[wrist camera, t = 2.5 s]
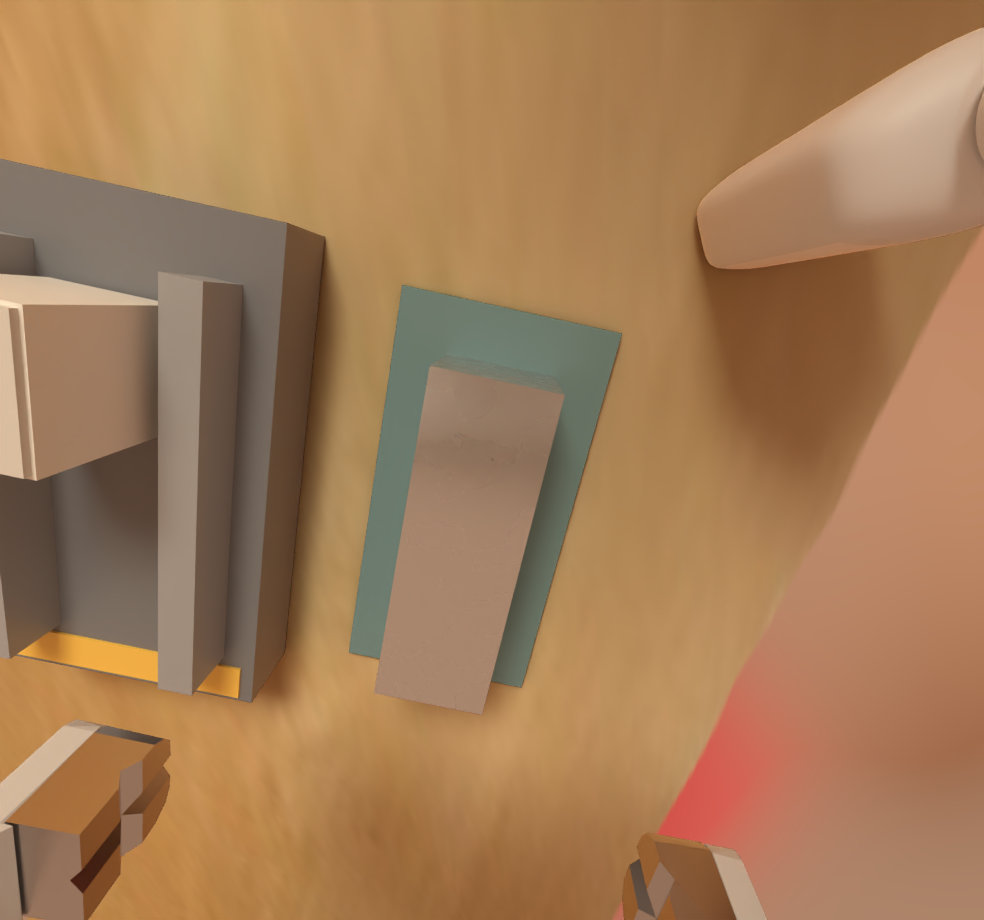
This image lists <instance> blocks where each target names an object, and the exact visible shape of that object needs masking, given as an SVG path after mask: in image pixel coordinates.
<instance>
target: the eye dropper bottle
mask: <svg viewBox="0 0 984 920" xmlns="http://www.w3.org/2000/svg"><path fill="white" fill-rule="evenodd" d="M697 222H698V227H699V232H700V236H701V241H702V245H703V250H704V253H705V257H706V259H707V261H708V262H709V264H710V265H712V266H714V267H716V268H722V269H753V268H761V267H767V266H774V265H780V264H786V263H792V262H798V261H804V260H810V259H816V258H822V257H828V256H834V255H840V254H846V253H852V252H859V251H865V250H871V249H877V248H883V247H888V246H894V245H900V244H906V243H911V242H917V241H922V240H927V239H932V238H937V237H942V236H947V235H950V234H954V233H958V232H962V231H966V230H969V229H972V228H975V227H979V226H982V225H984V27H982V28H980V29H977V30H975V31H972V32H970V33H968V34H965V35H963V36H961V37H959V38H956V39H954V40H952V41H950V42H948V43H946V44H944V45H942V46H940V47H938V48H936V49H934V50H932V51H930V52H929V53H927V54H925V55H923V56H922V57H920V58H918V59H916V60H915V61H913V62H911V63H910V64H908V65H906V66H904V67H903V68H901V69H899V70H897V71H896V72H894V73H893V74H891V75H889V76H888V77H886V78H884V79H883V80H881V81H879V82H878V83H876V84H874V85H873V86H871V87H870V88H868V89H866V90H865V91H863V92H861V93H860V94H858V95H857V96H855V97H853V98H852V99H850V100H848V101H847V102H845V103H844V104H842V105H840V106H839V107H837V108H835V109H834V110H832V111H831V112H829V113H827V114H826V115H824V116H823V117H821V118H819V119H818V120H816V121H814V122H813V123H811V124H810V125H808V126H806V127H805V128H803V129H801V130H800V131H798V132H797V133H795V134H793V135H792V136H790V137H789V138H787V139H785V140H784V141H782V142H781V143H779V144H777V145H776V146H774V147H772V148H771V149H769V150H768V151H766V152H764V153H763V154H761V155H760V156H758V157H756V158H755V159H753V160H751V161H750V162H748V163H747V164H745V165H744V166H742V167H740V168H739V169H737V170H736V171H735V172H733V173H732V174H730V175H729V176H728V177H726V178H725V179H724V180H723V181H721V182H720V183H719V184H718V185H717V186H715V187H714V188H713V189H712V190H711V191H710V192H709V193H708V194H707V195H706V196H705V197H704V198H703V199H702V201H701V202H700V204H699V206H698V208H697Z"/></svg>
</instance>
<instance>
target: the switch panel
mask: <svg viewBox="0 0 984 920" xmlns="http://www.w3.org/2000/svg"><path fill="white" fill-rule="evenodd" d="M324 241H325V237H323V236H321V235H318V234H315V233H313V232H310V231H307V230H305V229H302V228H299V227H297V226H294V225H291V224H289V223H286V222H281V221H277V220H272V219H268V218H263V217H259V216H254V215H250V214H245V213H241V212H236V211H232V210H227V209H223V208H218V207H214V206H209V205H205V204H201V203H196V202H192V201H187V200H183V199H178V198H174V197H169V196H165V195H160V194H156V193H151V192H147V191H142V190H138V189H133V188H129V187H125V186H120V185H116V184H111V183H107V182H102V181H98V180H93V179H89V178H84V177H80V176H75V175H71V174H66V173H62V172H57V171H53V170H48V169H44V168H40V167H35V166H31V165H26V164H22V163H17V162H13V161H8V160H4V159H0V274H9V275H24V276H39V277H51V278H55V279H60V280H64V281H69V282H74V283H78V284H83V285H87V286H92V287H96V288H101V289H106V290H110V291H115V292H119V293H124V294H129V295H133V296H138V297H142V298H147V299H151V300H156V301H158V437H156V438H154V439H151V440H148V441H145V442H143V443H140V444H137V445H134V446H132V447H129V448H126V449H123V450H121V451H118V452H115V453H112V454H109V455H107V456H104V457H101V458H98V459H96V460H93V461H90V462H87V463H85V464H82V465H79V466H76V467H74V468H71V469H68V470H65V471H62V472H60V473H57V474H54V475H51V476H49V477H46V478H43V479H40V480H38V481H35V480H30V479H22V478H17V477H12V476H7V475H3V474H0V657H1V658H6V659H11V658H12V657H14V656H20V657H25V658H30V659H35V660H40V661H45V662H50V663H55V664H60V665H65V666H70V667H75V668H80V669H85V670H90V671H95V672H100V673H105V674H110V675H115V676H120V677H125V678H130V679H135V680H140V681H145V682H150V683H155V684H158V689H161V690H166V691H171V692H176V693H181V694H186V695H191V696H192V695H193V693H194V692H200V693H205V694H210V695H215V696H220V697H225V698H230V699H235V700H240V701H245V702H250V703H251V702H252V701H253V699H254V698H255V696H256V695H257V693H258V692H259V690H260V689H261V687H262V686H263V684H264V683H265V681H266V680H267V678H268V677H269V675H270V674H271V672H272V671H273V669H274V668H275V666H276V665H277V663H278V662H279V660H280V659H281V657H282V656H283V654H284V653H285V643H286V633H287V623H288V612H289V602H290V592H291V581H292V571H293V561H294V551H295V540H296V530H297V520H298V509H299V499H300V489H301V478H302V468H303V458H304V447H305V437H306V427H307V416H308V406H309V396H310V385H311V375H312V365H313V354H314V344H315V334H316V324H317V313H318V303H319V293H320V282H321V272H322V262H323V251H324Z"/></svg>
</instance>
